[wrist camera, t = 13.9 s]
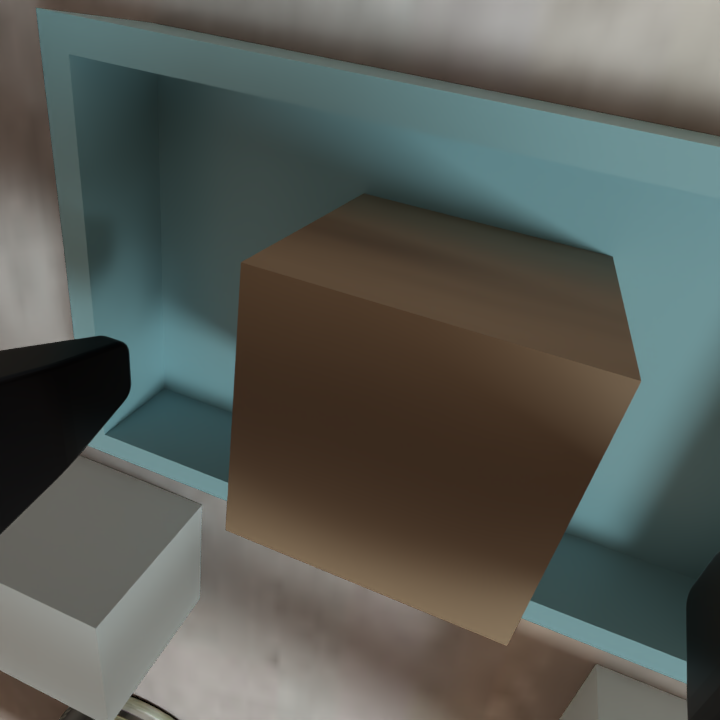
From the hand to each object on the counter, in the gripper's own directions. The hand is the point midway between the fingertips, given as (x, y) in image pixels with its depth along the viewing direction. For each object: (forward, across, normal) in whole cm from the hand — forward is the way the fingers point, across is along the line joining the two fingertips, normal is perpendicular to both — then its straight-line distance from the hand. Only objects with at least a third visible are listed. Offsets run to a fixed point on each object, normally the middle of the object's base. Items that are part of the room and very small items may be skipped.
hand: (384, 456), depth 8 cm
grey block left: (+6, +9, +12) cm, 16 cm away
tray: (+5, 0, 0) cm, 5 cm away
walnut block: (+5, 0, 0) cm, 5 cm away
